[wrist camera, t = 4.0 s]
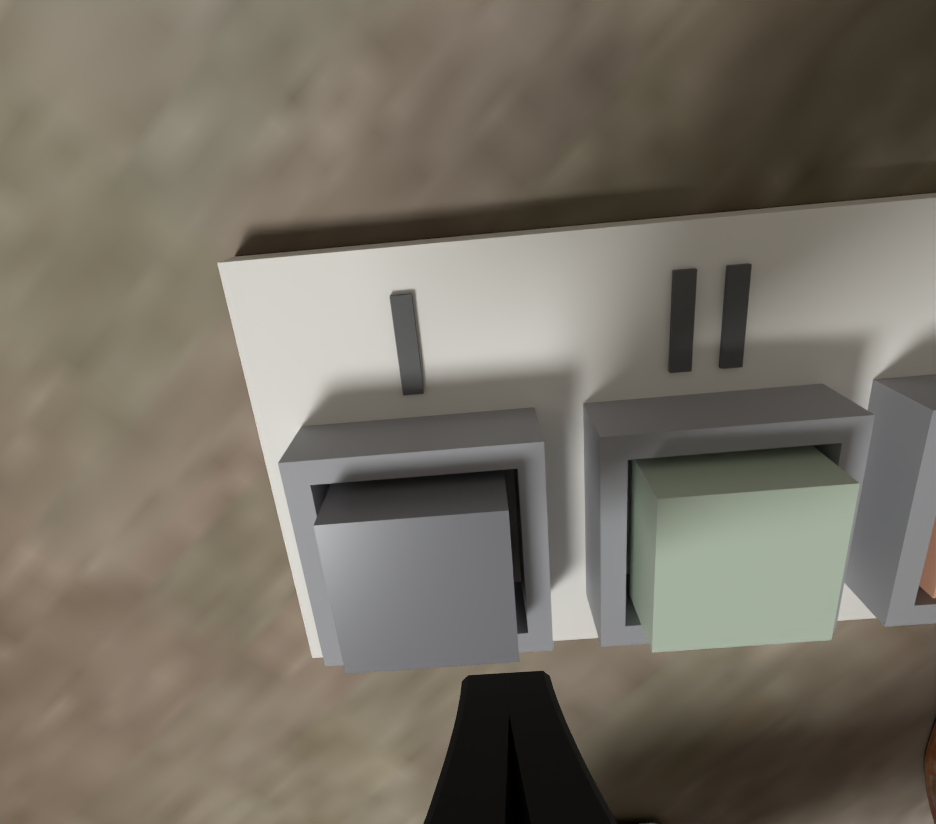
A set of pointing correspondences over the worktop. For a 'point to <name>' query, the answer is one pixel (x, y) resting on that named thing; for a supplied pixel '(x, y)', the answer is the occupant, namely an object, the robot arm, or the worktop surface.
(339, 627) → the key one
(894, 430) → the keypad
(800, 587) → the key two
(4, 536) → the worktop surface
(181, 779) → the worktop surface
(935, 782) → the tin
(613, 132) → the worktop surface
